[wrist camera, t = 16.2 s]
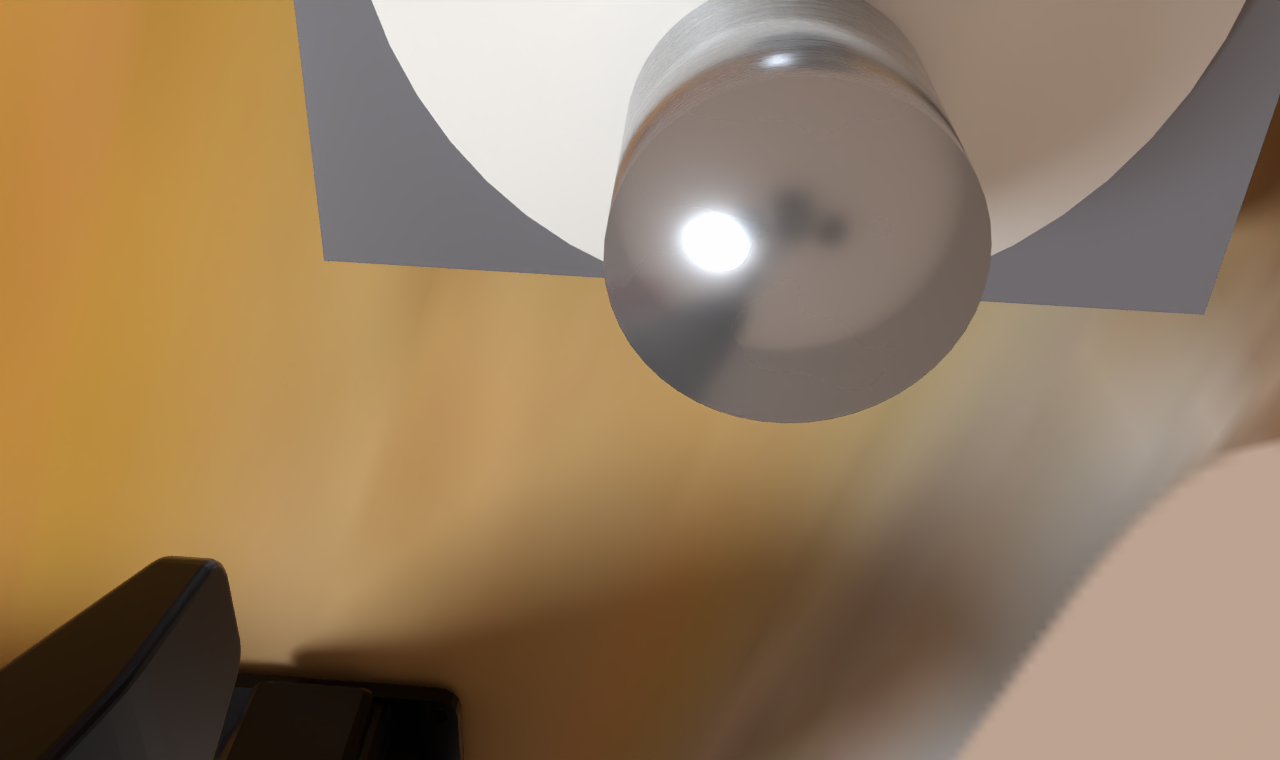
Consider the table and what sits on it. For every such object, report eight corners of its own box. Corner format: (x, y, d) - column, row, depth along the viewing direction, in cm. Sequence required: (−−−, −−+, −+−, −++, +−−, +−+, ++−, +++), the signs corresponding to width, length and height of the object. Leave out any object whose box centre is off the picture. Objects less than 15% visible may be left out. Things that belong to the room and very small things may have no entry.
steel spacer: (795, 325, 18) (812, 480, 15) (565, 162, 17) (529, 292, 14) (1001, 111, 16) (1075, 236, 13) (759, -90, 15) (772, -12, 12)
